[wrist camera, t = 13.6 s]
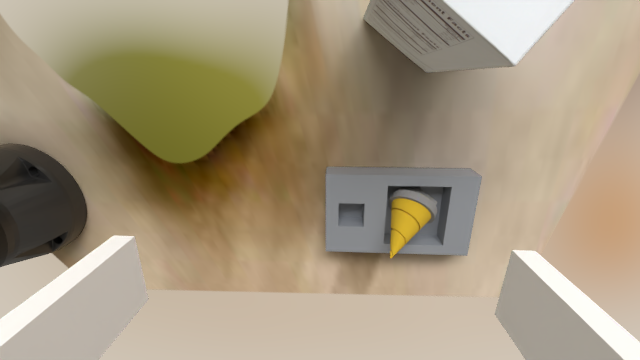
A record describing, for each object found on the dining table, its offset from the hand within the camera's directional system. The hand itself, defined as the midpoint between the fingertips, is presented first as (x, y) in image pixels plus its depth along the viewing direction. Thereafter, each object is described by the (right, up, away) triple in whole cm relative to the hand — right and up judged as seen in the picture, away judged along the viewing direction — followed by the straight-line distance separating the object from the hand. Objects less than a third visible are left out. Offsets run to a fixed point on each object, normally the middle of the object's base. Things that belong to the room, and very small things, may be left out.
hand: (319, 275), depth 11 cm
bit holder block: (+9, 0, +27) cm, 28 cm away
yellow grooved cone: (+11, 0, +26) cm, 28 cm away
